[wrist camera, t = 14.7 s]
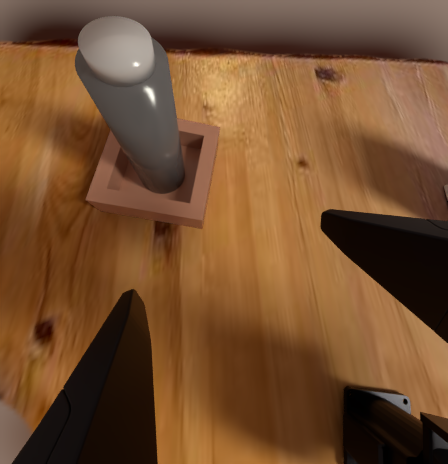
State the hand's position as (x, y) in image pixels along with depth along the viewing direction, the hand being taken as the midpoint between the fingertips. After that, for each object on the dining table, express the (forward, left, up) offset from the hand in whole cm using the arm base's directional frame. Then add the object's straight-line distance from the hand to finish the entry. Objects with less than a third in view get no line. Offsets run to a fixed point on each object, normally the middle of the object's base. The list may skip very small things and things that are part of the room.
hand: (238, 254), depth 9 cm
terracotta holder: (+8, -10, -13) cm, 18 cm away
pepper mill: (+8, -10, -12) cm, 18 cm away
